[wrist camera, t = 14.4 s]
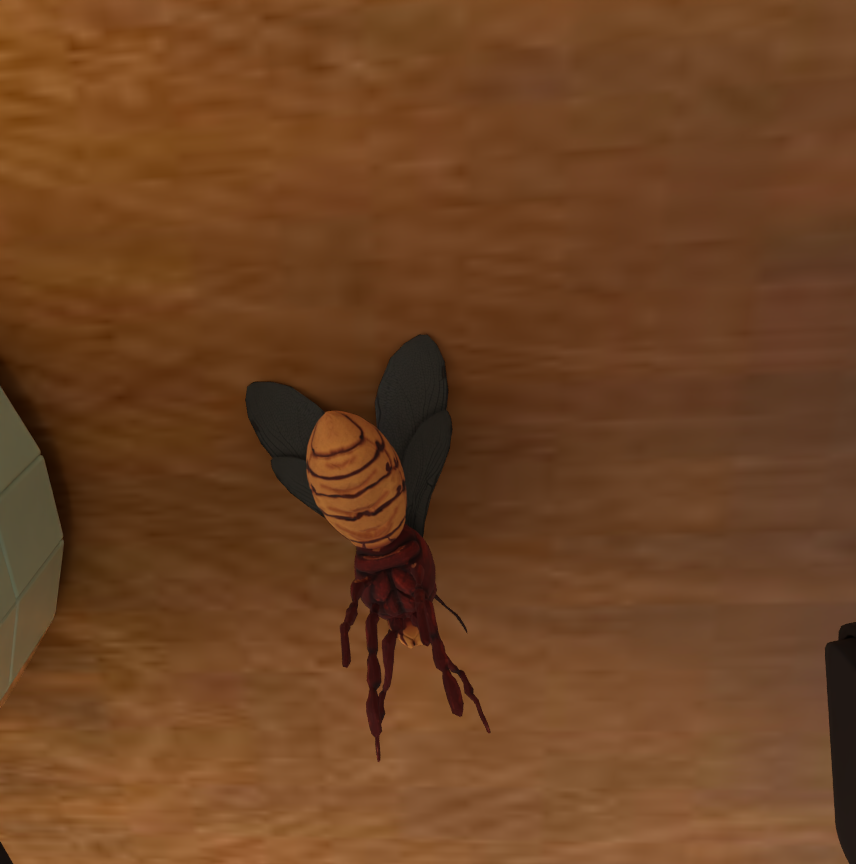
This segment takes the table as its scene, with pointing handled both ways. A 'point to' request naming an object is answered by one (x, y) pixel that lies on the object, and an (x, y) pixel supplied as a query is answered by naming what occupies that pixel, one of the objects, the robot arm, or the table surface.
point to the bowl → (24, 548)
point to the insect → (374, 500)
